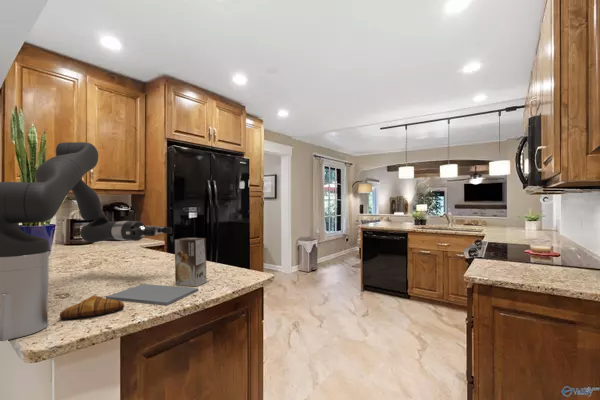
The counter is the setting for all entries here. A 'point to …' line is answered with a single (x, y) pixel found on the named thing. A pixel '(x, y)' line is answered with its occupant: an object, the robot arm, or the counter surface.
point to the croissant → (91, 308)
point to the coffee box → (190, 261)
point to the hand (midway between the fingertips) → (163, 231)
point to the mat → (153, 294)
